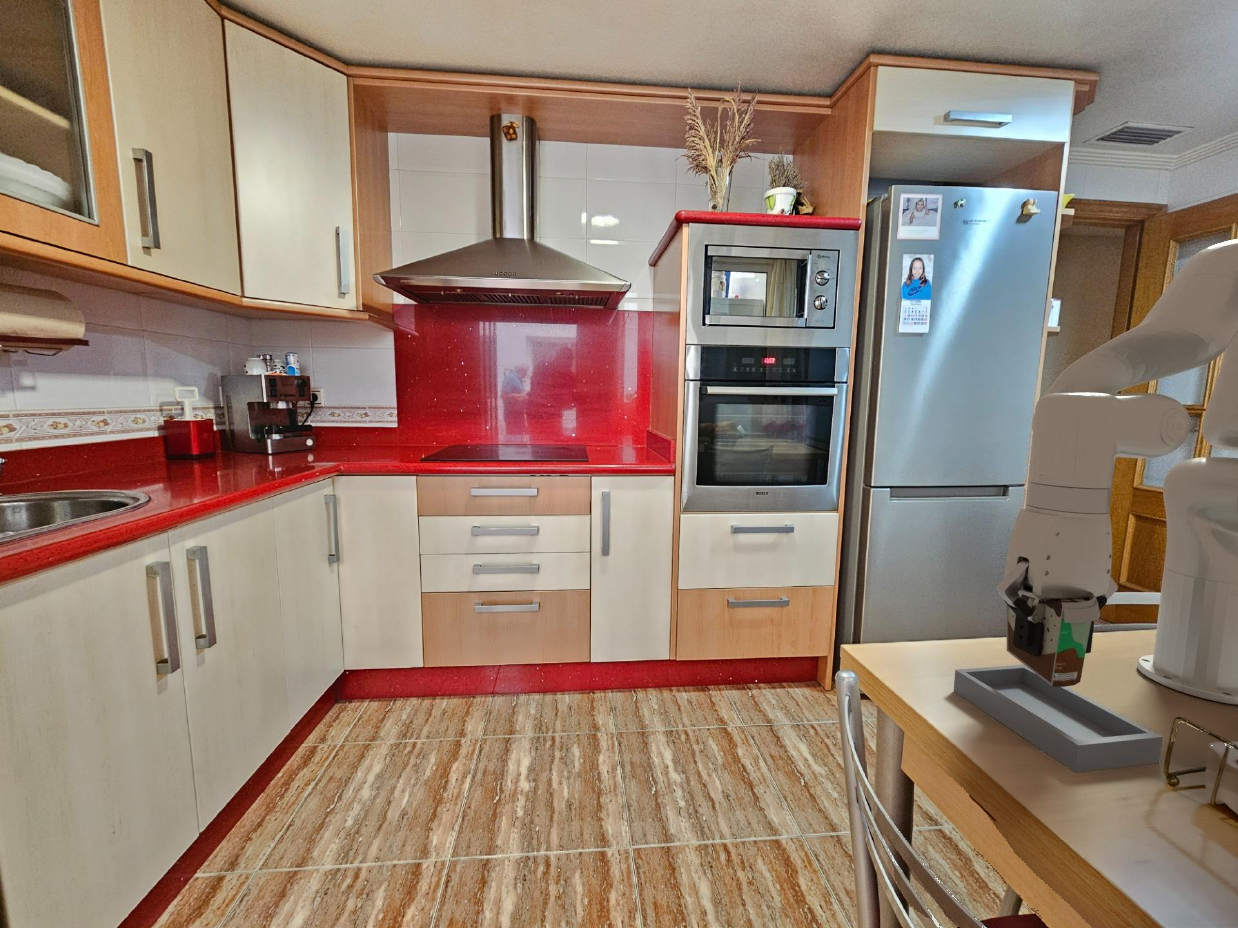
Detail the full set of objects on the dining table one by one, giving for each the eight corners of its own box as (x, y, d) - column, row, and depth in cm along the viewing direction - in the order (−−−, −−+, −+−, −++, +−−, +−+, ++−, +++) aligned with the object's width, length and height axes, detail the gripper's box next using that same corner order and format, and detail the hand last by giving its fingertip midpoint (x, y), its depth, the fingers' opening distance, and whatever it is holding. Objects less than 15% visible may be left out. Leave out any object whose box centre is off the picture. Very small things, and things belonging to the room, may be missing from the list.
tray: (1022, 685, 75) (1023, 664, 74) (1159, 762, 58) (1162, 736, 58) (953, 690, 73) (955, 669, 73) (1075, 772, 57) (1078, 745, 56)
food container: (1124, 697, 58) (1131, 606, 58) (1060, 693, 59) (1066, 604, 59) (1052, 648, 71) (1057, 573, 70) (1000, 645, 72) (1004, 571, 71)
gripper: (1096, 495, 68) (1081, 633, 70) (975, 495, 65) (962, 640, 67) (1165, 505, 61) (1146, 660, 62) (1031, 506, 58) (1015, 668, 60)
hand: (1051, 648), depth 65 cm, fingers closed on food container, 6 cm apart
